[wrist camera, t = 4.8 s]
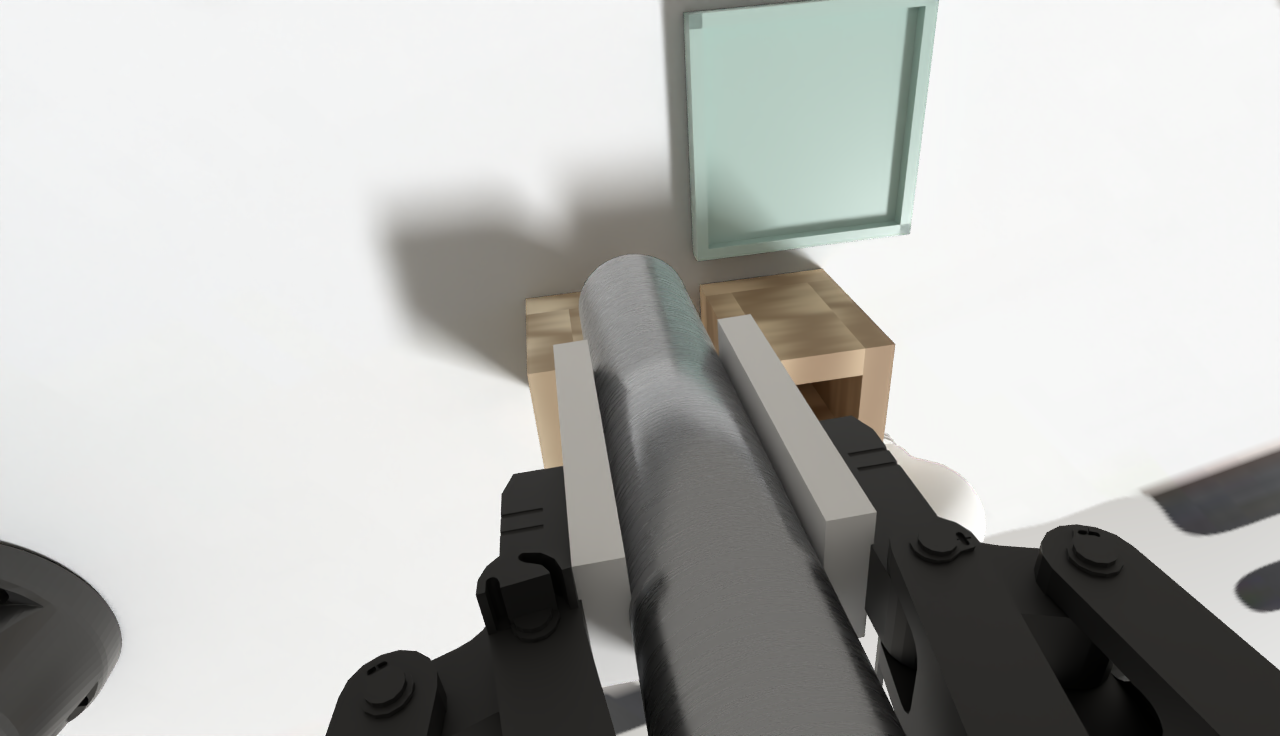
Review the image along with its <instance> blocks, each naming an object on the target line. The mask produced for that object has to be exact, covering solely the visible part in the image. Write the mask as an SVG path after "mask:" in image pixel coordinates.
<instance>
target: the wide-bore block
mask: <svg viewBox="0 0 1280 736" xmlns="http://www.w3.org/2000/svg"><path fill="white" fill-rule="evenodd" d="M700 307H701V321H702V323H703V325H704V327H705V329H706V331H707V333H708V335H709V337H710V339H711V341H712V343H713V345H714V347H715V349H716V351H717V353H718V355H719V343H718V321H717V319H723V318H729V317H736V316H742V315H748V314H751V316H752V317H753V319H754V320H755V322H756V323H757V325H758V327H759V328H760V330H761V331H762V333H763V334H764V336H765V338H766V339H767V341H768V342H769V344H770V345H771V347H772V349H773V350H774V352H775V353H776V355H777V356H778V358H779V360H780V361H781V363H782V364H783V366H784V367H785V369H786V371H787V372H788V374H789V375H790V377H791V378H792V380H793V381H794V383H795V385H796V386H797V388H798V389H799V391H800V392H801V394H802V396H803V397H804V399H805V400H806V402H807V403H808V405H809V407H810V408H811V410H812V411H813V413H814V414H815V416H816V418H817V419H818V421H822V420H827V419H833V418H839V417H845V416H851V415H852V416H853V417H855V418H856V419H858V420H860V421H861V422H863V423H864V424H866V425H868V426H869V427H871V428H872V429H874V431H875V432H876V433H877V435H878V436H879V437H880V439H881V440H882V441H883V439H884V431H885V423H886V415H887V407H888V399H889V391H890V383H891V375H892V367H893V358H894V350H895V344H894V342H893V341H892V340H891V339H890V338H889V337H888V336H887V335H886V334H885V333H884V332H883V331H882V330H881V329H880V328H879V327H878V326H877V325H876V324H875V323H874V322H873V321H872V320H871V319H870V318H869V317H868V316H867V314H866V313H865V312H864V311H863V310H862V309H861V308H860V307H859V306H858V305H857V304H856V303H855V302H854V301H853V300H852V299H851V298H850V297H849V296H848V295H847V294H846V293H845V292H844V291H843V290H842V289H841V287H840V286H839V285H838V284H837V283H836V282H835V281H834V280H833V279H832V278H831V277H830V276H829V275H828V274H827V273H826V272H825V271H824V270H823V269H816V270H808V271H801V272H793V273H786V274H778V275H771V276H763V277H755V278H748V279H740V280H733V281H725V282H718V283H710V284H702V285H700Z"/></svg>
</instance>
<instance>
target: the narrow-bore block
mask: <svg viewBox="0 0 1280 736" xmlns="http://www.w3.org/2000/svg"><path fill="white" fill-rule="evenodd" d="M580 294H581V292H574V293H567V294H559V295H551V296H544V297H536V298H528V299H526V344H527V376H528V382H529V387H530V393H531V398H532V403H533V409H534V414H535V420H536V425H537V431H538V436H539V441H540V447H541V452H542V458H543V463H544V468H545V469H547V468H553V467H559V466H563V458H562V446H561V434H560V422H559V410H558V398H557V386H556V374H555V362H554V350H553V345H556V344H562V343H569V342H575V341H581V340H583V334H582V328H581V322H580V316H579V298H580Z"/></svg>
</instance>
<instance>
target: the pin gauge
mask: <svg viewBox="0 0 1280 736" xmlns="http://www.w3.org/2000/svg"><path fill="white" fill-rule="evenodd" d="M579 316H580V322H581V328H582V334H583V340H588V346H589V352H590V357H591V363H592V369H593V375H594V380H595V386H596V392H597V398H598V403H599V409H600V415H601V421H602V426H603V432H604V438H605V444H606V449H607V455H608V461H609V467H610V472H611V478H612V484H613V490H614V495H615V501H616V507H617V513H618V518H619V524H620V530H621V535H622V541H623V547H624V553H625V559H626V565H627V572H628V579H629V585H630V592H631V602H630V608H629V621H630V627H631V633H632V639H633V645H634V652H635V658H636V664H637V670H638V676H639V682H640V688H641V694H642V700H643V706H644V713H645V719H646V725H647V731H648V736H906V734H905V732H904V730H903V728H902V726H901V724H900V722H899V720H898V718H897V716H896V714H895V712H894V710H893V708H892V706H891V704H890V702H889V700H888V698H887V696H886V694H885V692H884V689H883V688H882V685H881V683H880V681H879V679H878V677H877V675H876V673H875V671H874V669H873V667H872V665H871V663H870V661H869V659H868V657H867V655H866V653H865V651H864V649H863V647H862V645H861V643H860V641H859V639H858V637H857V635H856V633H855V631H854V629H853V627H852V625H851V623H850V621H849V619H848V617H847V615H846V613H845V611H844V609H843V606H842V604H841V602H840V600H839V598H838V596H837V594H836V592H835V590H834V588H833V586H832V584H831V582H830V580H829V578H828V576H827V574H826V572H825V570H824V568H823V566H822V564H821V562H820V560H819V558H818V556H817V554H816V552H815V550H814V548H813V546H812V544H811V542H810V540H809V538H808V536H807V534H806V532H805V530H804V528H803V526H802V523H801V521H800V519H799V517H798V515H797V513H796V511H795V509H794V507H793V505H792V503H791V501H790V499H789V497H788V495H787V493H786V491H785V489H784V487H783V485H782V483H781V481H780V479H779V477H778V475H777V473H776V471H775V469H774V467H773V465H772V463H771V461H770V459H769V457H768V455H767V453H766V451H765V449H764V447H763V445H762V442H761V440H760V438H759V436H758V434H757V432H756V430H755V428H754V426H753V424H752V422H751V420H750V418H749V416H748V414H747V412H746V410H745V408H744V406H743V404H742V402H741V400H740V398H739V396H738V394H737V392H736V390H735V388H734V386H733V384H732V382H731V380H730V378H729V376H728V374H727V372H726V370H725V368H724V366H723V364H722V362H721V359H720V357H719V355H718V353H717V351H716V349H715V347H714V345H713V343H712V341H711V339H710V337H709V335H708V333H707V331H706V329H705V327H704V325H703V323H702V321H701V319H700V317H699V315H698V313H697V311H696V309H695V307H694V305H693V303H692V301H691V299H690V297H689V295H688V293H687V291H686V289H685V287H684V285H683V283H682V281H681V279H680V277H679V276H678V274H677V273H676V272H675V270H674V269H673V268H672V267H670V266H669V265H668V264H667V263H665V262H664V261H662V260H660V259H658V258H655V257H652V256H649V255H643V254H628V255H623V256H619V257H616V258H613V259H611V260H609V261H607V262H605V263H604V264H602V265H601V266H599V267H598V268H597V269H596V270H595V271H594V272H593V273H592V274H591V275H590V276H589V278H588V279H587V280H586V282H585V284H584V286H583V288H582V291H581V294H580V298H579Z"/></svg>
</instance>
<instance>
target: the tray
mask: <svg viewBox="0 0 1280 736" xmlns="http://www.w3.org/2000/svg"><path fill="white" fill-rule="evenodd" d="M938 4H939V0H807V1H797V2H787V3H776V4H766V5H756V6H746V7H736V8H725V9H715V10H705V11H695V12H685V13H683V16H684V41H685V66H686V91H687V115H688V140H689V165H690V190H691V214H692V239H693V254H694V256H695V257H696V259H697V261H705V260H713V259H720V258H728V257H736V256H744V255H751V254H759V253H767V252H775V251H782V250H790V249H798V248H806V247H813V246H821V245H829V244H837V243H844V242H852V241H860V240H868V239H875V238H883V237H891V236H899V235H906V234H910V229H911V221H912V213H913V205H914V197H915V189H916V181H917V173H918V164H919V156H920V148H921V140H922V132H923V124H924V116H925V108H926V100H927V92H928V84H929V76H930V68H931V60H932V52H933V44H934V36H935V28H936V20H937V12H938Z"/></svg>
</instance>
